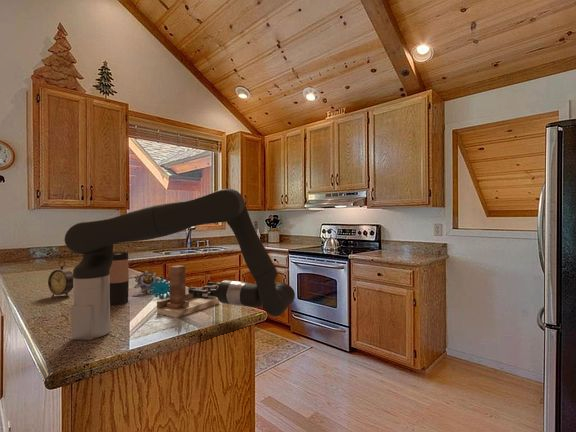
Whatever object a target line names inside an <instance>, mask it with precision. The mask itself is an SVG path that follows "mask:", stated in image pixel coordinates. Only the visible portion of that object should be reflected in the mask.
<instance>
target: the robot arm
mask: <svg viewBox="0 0 576 432" xmlns="http://www.w3.org/2000/svg"><path fill="white" fill-rule="evenodd" d="M216 223H217V224H218V223H226V224H227V225H228V226H229V228H230V229H231V230H232V232H233V234H234V236H235V238H236V241H237V243H238V245H239V249H240V252H241V255H242V257H243V258H242V259H243V260H244V263H245V265H246V267H247V269H248V271H249V273H250V274H251V276H252V278H253V280H254V281H255V283H249V282H246V281H242V280H240V281H239V280H231V279H224V280H222V281H220V282H218V281H217V282H210V281H207V283H206V285H204V286H203V287H197V286H196V287H194V286H189V287H188V288H187V289H188V292H187V293H189V294H193V297H194V298H201V299H208V297H212V298H218V300H219V303H222V304H226V305H232V306H237V307H241V306H242V307H249V308H255V309H257V308H261V307H262V308H263V309H264V311H265V312H266V313H267V314H268V315H269V316H272V317H280V316H281V315H282V314H284V312H285V311H286V310H287V309H288V308H289V306H291V304H292V303H293V302H294V300H295V298H296V293H295V290H294V288H292V286H290V285H289V284H288V283H284V282H278V281H277V282H276V279H277V277H278V270H277V268H276V266H275V264H274V262H273V260H272V258H271V257H270V255H269V253H268V252H267V250H266V248H265V246H264V244H263V242H262V241H261V238H260V237H259V235H258V233H257V231H256V229H255V226H254V224H253V222H252V219H251V217H250V214H249V211H248V209H247V205H246V203H245V199H244V197H243V195H242V194H241V193H240V192H239V191H238V190H236V189H233V188H221V189H219V190H215V191H214V192H212V193H208V194H206V195H202V196H200V197H196V198H193V199H190V200H186V201H174V202H166V203H160V204H156V205H152V206H147V207H143V208H139V209H137V210H134V211H130V212H126V213H123V214H121V215H117V216H115V217H111V218H106V219H105V218H104V219H100V220H93V221H82V222H79V223H76V224H73V225H72V226H71V227H70V228H69V229H68V230H67V231H66V232H65V235H64V244H65V246H66V247H67V249H68V250H69V251H71V252H74V253H76V254H80V255H82V259H81V261H80V262H79V263H78V264H76V265H75V266H74V268H73V271H72V273H73V289H72V292H73V293H72V296H73V297H72V298H73V305H71V307H70V332H71V333H70V334H71V335H70V338H71V340H81V341H82V340H84V341H85V340H87V341H88V340H89V341H90V340H94V339H97V338H100V337H103V336H106V335H107V334H109V333H110V332H111V305H110V267H111V265H112V261H113V253H114V245H115V244H116V245H117V244H121V243H131V242H141V241H147V240H148V241H149V240H153V239H158V238H163V237H167V236H170V235H173V234H177V233H180V232H183V231H185V230H188V229H190V228H193V227H196V226H200V225H201V226H203V225H209V224H216Z"/></svg>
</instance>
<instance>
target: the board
mask: <svg viewBox="0 0 576 432" xmlns="http://www.w3.org/2000/svg"><path fill="white" fill-rule="evenodd" d="M186 301H189V306H186V307H183V308H180V309H177V310H176V309H171V308H167V303H169V302H170V297H167V298H165V299H164V298H163V299H161V300H157V301H156V314H157V315H160V314H161V316H164V315H166V316H165V317H169V316H170V318H174V317H175V318H174V319H178V318H180V316H181V317H184V316H187V315H189V314H192V313H194V312H198V311H200V310H203V309H206V308H209V307H212V306H215V305H218V304H219V303H220V301H219V300H218V298H217V297H216V298H212V297H208V299H201V298H194V297H193V294H189V293H188V292H186ZM186 314H187V315H186ZM183 315H184V316H183ZM177 317H178V318H177Z"/></svg>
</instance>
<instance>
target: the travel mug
mask: <svg viewBox="0 0 576 432" xmlns="http://www.w3.org/2000/svg"><path fill="white" fill-rule="evenodd" d="M129 270H130V269H129V252H123V251H121V252H120V251H119V252H113V261H112V265H111V267H110V306H111V305H112V306H115V305H116V306H118V305H123V304H127V303H128V302H129V286H130V285H129V283H130V278H129V277H130V276H129V275H130V274H129V272H130V271H129Z"/></svg>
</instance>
